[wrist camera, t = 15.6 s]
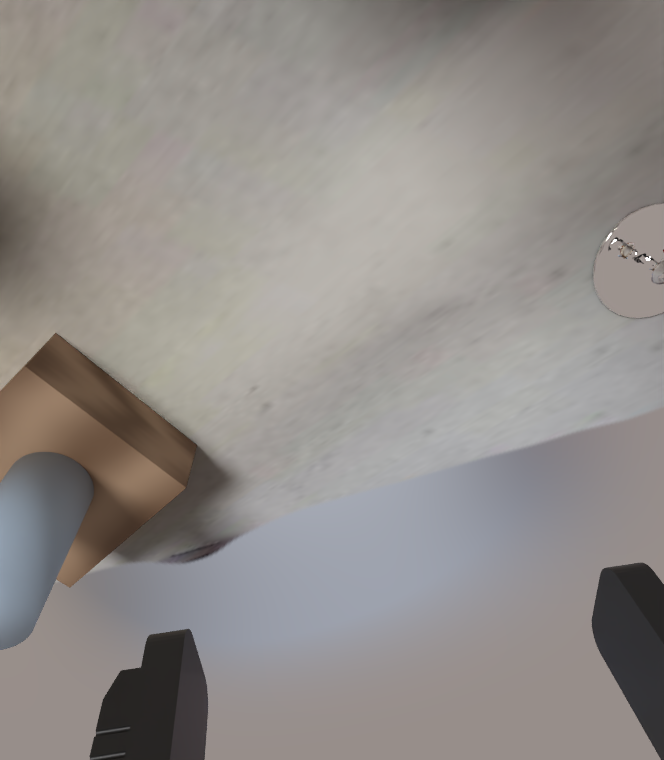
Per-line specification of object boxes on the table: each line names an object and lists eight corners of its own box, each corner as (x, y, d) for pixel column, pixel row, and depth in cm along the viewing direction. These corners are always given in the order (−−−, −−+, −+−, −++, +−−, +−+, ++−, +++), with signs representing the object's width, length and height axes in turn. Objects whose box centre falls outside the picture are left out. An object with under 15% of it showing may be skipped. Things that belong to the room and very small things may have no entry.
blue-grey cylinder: (-10, 485, 37) (-102, 614, 29) (41, 436, 36) (-39, 556, 27) (59, 531, 39) (-7, 665, 31) (111, 486, 38) (57, 612, 29)
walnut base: (-51, 444, 42) (-92, 488, 37) (55, 333, 39) (24, 366, 34) (91, 538, 46) (69, 587, 42) (197, 445, 43) (186, 487, 38)
